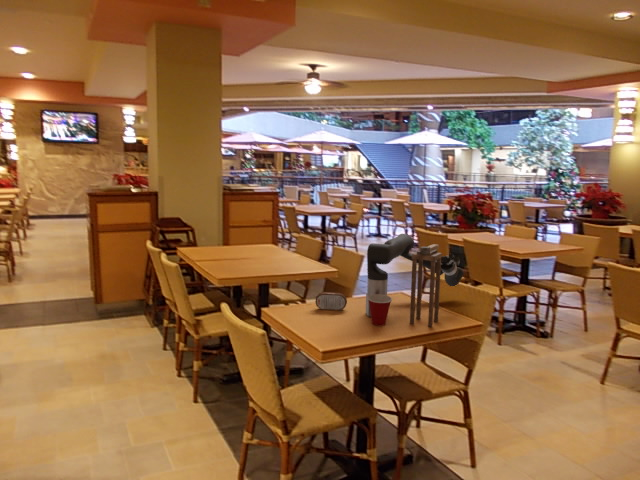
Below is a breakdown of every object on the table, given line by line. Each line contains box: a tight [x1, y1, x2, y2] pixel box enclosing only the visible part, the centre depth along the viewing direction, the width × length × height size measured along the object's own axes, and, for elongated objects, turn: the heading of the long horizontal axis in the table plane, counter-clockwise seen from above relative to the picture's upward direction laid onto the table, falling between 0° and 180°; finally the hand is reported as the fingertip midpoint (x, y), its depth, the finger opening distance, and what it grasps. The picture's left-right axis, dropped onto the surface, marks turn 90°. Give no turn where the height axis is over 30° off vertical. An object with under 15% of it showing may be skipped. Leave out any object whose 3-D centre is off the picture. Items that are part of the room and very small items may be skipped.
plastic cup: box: [367, 294, 393, 327], centre depth 230 cm, size 11×11×12 cm
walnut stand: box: [409, 250, 443, 328], centre depth 232 cm, size 10×10×32 cm
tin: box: [314, 291, 348, 312], centre depth 252 cm, size 15×3×8 cm, turn 84°
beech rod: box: [419, 243, 440, 255], centre depth 233 cm, size 3×18×3 cm, turn 151°
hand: (440, 254), depth 250 cm, fingers open, 8 cm apart
